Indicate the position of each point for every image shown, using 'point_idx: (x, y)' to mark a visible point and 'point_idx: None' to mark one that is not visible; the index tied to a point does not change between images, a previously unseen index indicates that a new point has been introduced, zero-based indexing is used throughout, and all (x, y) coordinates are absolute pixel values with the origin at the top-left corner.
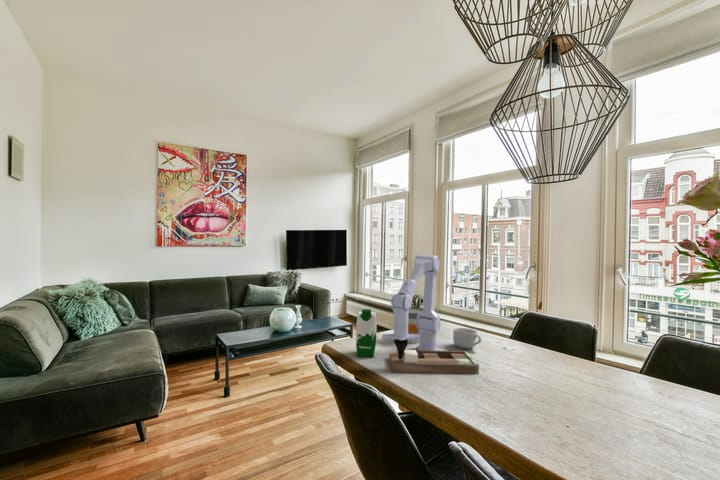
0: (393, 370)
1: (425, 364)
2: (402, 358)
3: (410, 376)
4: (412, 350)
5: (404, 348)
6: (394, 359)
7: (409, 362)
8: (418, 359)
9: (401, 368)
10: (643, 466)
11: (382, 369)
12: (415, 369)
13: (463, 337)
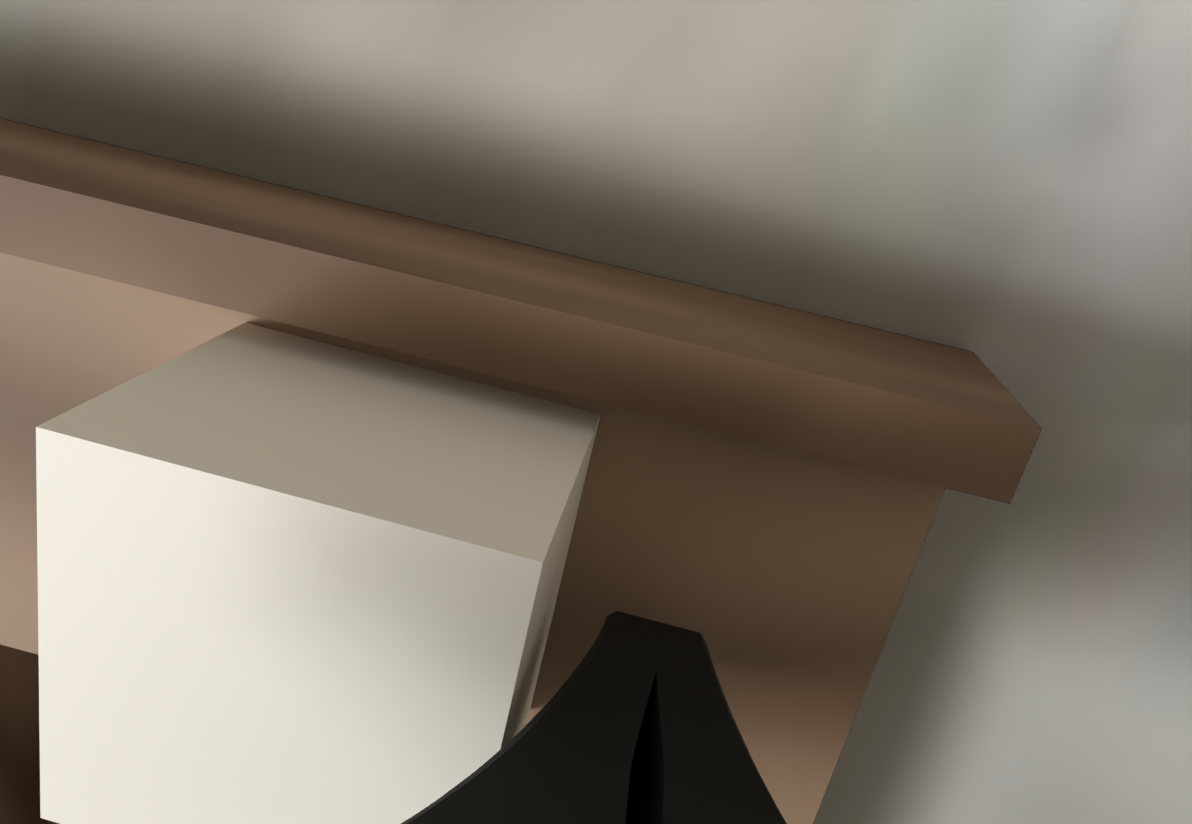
0: (944, 357)
1: (13, 174)
2: None
3: (596, 4)
4: (154, 814)
5: (478, 811)
6: None
7: (452, 400)
8: None
9: (735, 319)
10: None
11: (1134, 550)
12: (366, 221)
13: None
